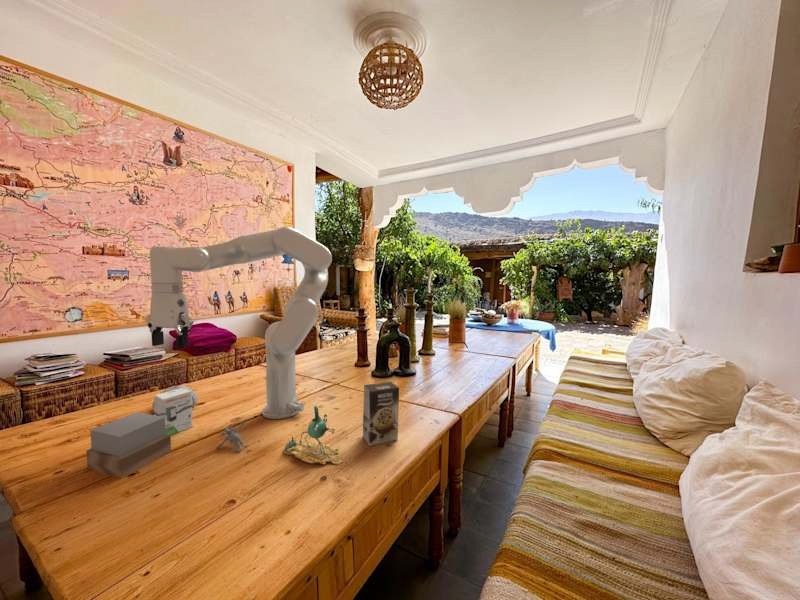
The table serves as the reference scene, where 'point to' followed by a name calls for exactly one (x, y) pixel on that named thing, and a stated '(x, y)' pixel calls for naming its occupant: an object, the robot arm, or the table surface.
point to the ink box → (174, 409)
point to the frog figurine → (314, 444)
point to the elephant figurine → (233, 437)
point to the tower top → (127, 434)
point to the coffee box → (380, 413)
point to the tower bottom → (128, 458)
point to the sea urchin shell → (194, 395)
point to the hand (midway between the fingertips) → (170, 346)
